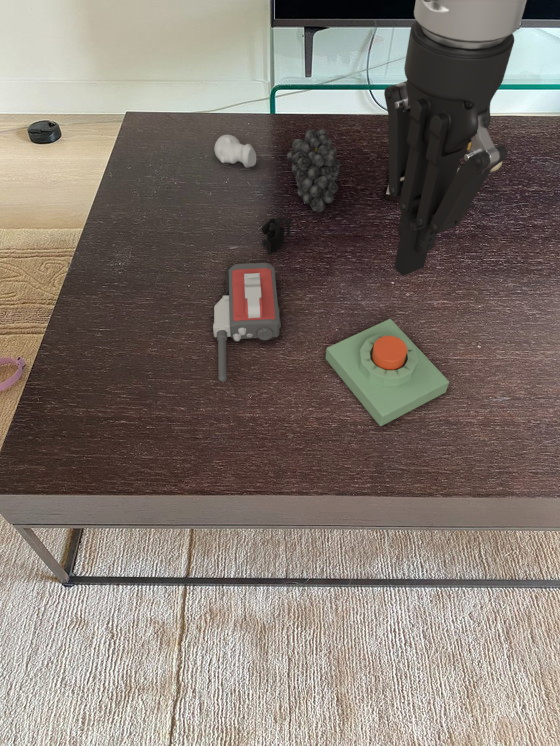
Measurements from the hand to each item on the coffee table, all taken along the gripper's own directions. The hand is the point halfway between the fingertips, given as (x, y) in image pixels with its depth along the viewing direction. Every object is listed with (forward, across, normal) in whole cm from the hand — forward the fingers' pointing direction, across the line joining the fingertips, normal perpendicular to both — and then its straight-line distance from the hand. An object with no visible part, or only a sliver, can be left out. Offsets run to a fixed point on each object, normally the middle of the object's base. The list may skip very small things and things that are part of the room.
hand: (408, 267), depth 64 cm
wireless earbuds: (+19, -28, 0) cm, 34 cm away
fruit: (+19, -36, +12) cm, 42 cm away
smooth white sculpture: (+19, -50, +5) cm, 54 cm away
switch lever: (+11, -25, +32) cm, 42 cm away
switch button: (+15, 0, 0) cm, 15 cm away
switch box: (+18, 0, 0) cm, 18 cm away
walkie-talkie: (+19, -16, -11) cm, 27 cm away
